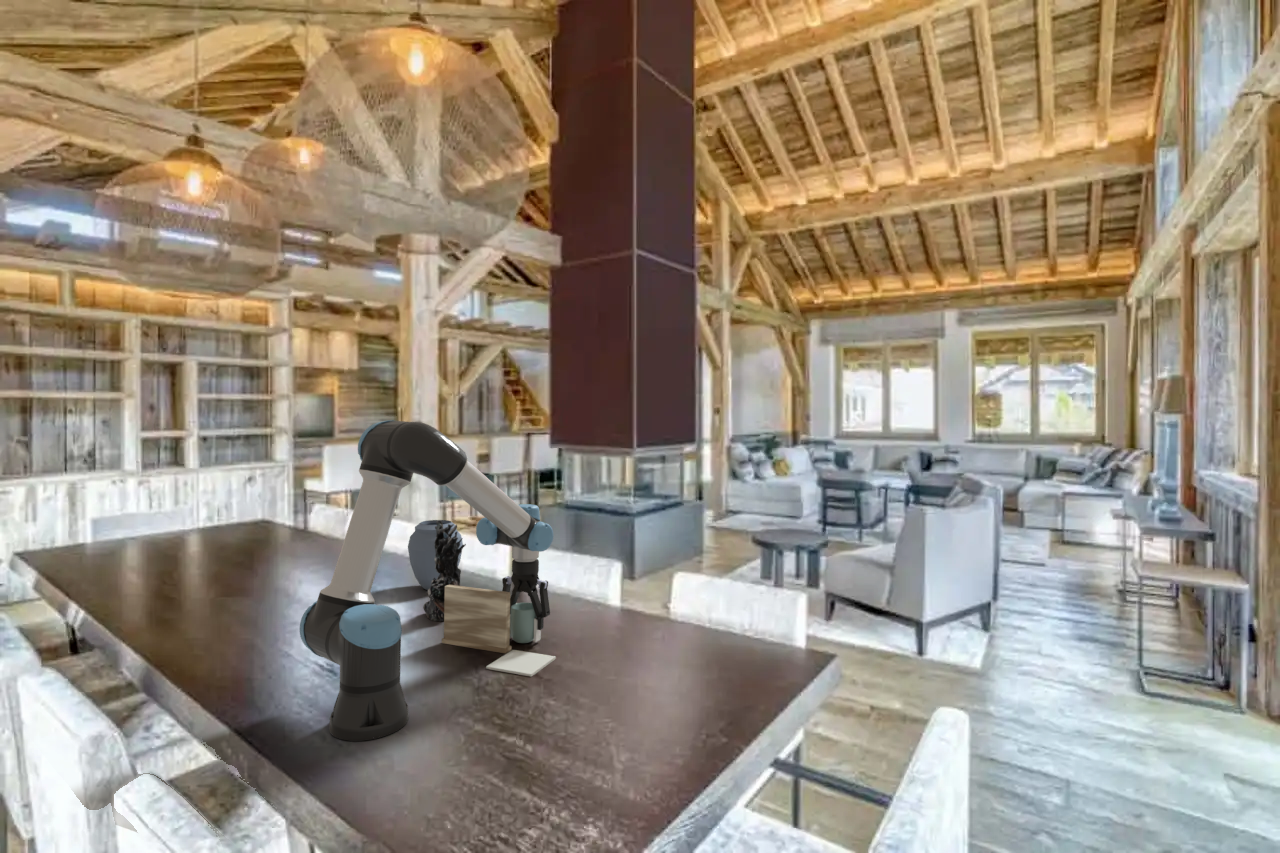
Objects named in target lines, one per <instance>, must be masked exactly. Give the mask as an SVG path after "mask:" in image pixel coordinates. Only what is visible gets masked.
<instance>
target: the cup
mask: <svg viewBox="0 0 1280 853" xmlns="http://www.w3.org/2000/svg"><path fill="white" fill-rule="evenodd" d="M535 618H537V617H536V614H535V611H534V608H533V605H532V602H516V604H514V605H512V606H511V610H510V628H511V636H512V637H511V638H512V640H513V641H514V642H515V643H519V644H528V643H531V642H534V619H535Z"/></svg>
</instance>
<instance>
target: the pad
mask: <svg viewBox="0 0 1280 853" xmlns="http://www.w3.org/2000/svg"><path fill="white" fill-rule="evenodd" d="M556 659H557V657H556V656H555V655H549V654H542V653H537V652H530V651H523V650H517V649H511V651H509V652H508V653H504V654H503V655H502V656H501V657H499V658H497V659H496V660H494V661H493V662H491V663H489V664H488V665H486V667H485V668H486V670H491V671H496V672H502V673H509V674H516V675H520V676H525V677H530V678H531V677H533V676H535V675H536V674H537V673H539V672H540V671H541V670H542V669H544V668H545V667H547V666H548V665H549V664H551V663H552V662H553V661H555V660H556Z"/></svg>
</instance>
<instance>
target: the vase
mask: <svg viewBox="0 0 1280 853" xmlns="http://www.w3.org/2000/svg"><path fill="white" fill-rule="evenodd" d="M438 520H439V519H432V520H431V519H429V520H423V521H421V522H419V523H418V524H417V525H415V526H414V531H413V533H412V534H411V535H410V536H409V541H408V543H407V544H408V545H407V549H408V550H407V551H408V557H409V558H408V559H409V563H410V567H411V569H412V572H413V574H414V578H415V580H417V582H418V584H419V585H420V586H421V588H422V589H424V590H426V591H428V590H429V589H430V588H431V582H432V579H433V578H435V579H437V577H438V576H439V575H440V573H437V571H436V569H435V554H436V551H435V547H434V543H435V539H436V535H437V534H436V529H435V526H437V523H436V521H438ZM440 520H441V521H442V524H443V529H444V528H446V527H448V524H450V525H452V524H454V525H453V526H452V527H451V529H450V531H451V530H452V529H453V528H454V526H456V524H455V523H454V522H452V521H451V520H447V519H440ZM457 528H458V527H457ZM457 528H456V530H455V531H454V533H453V534H452V536H451V537H454V536H455V532H457V531H458V529H457ZM450 531H449V533H450ZM457 538H458V539H457V541H456V543H457V542H459V541H460V540H461V539H462V538H463V537H462V534H461V533H460V531H458V532H457ZM459 544H460V546H459V548H460V547H461V546H462V545H464V542H463V539H462V540H461V542H460V543H459ZM459 548H458V549H459ZM462 553H463V552H462ZM462 553H460V554H459V556H458V558H459V559H458V563H457V565H458V567H459V565H460V563H461V559H462V558H461V557H462Z"/></svg>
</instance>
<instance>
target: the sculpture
mask: <svg viewBox="0 0 1280 853" xmlns="http://www.w3.org/2000/svg"><path fill="white" fill-rule="evenodd" d="M437 520H438V521H436V523H437V526H435V529H436V534H437V535H436V539H435V543H434V547H435V551H436V554H435V569H436V571H437V573H440V575H439V576H438V577H437V579H435V578H433V579H432V582H431V588H430V589H429V590H427V596H428V597H429V598H428V599H429V600H428V601H427V602H425V603H423V606H422V609H423V611H424V612H425V615H426V618H427V619H429V620H430V621H438V622H444V601H445V586H447V585H456V586H461V573H462V570H461V569H460V568H459V566H458V565H457V563H458V559H459V558H458V556H459V554H460V553H463V549H464V548H465V547H466V546H467V544H466V543H464V544H463V545H462V546H461V547H460V548H459V546H460V544H459V543H460V542H461V540H462V541H463V538H464V537H462V539H461V540H460V541H459V542H457V543H456V541H457V539H458V538H457V532H459V530H457V532H455V536H454V537H451V536H452V534H453V533H454V531H455V530H456V528H458V524H455V523H454V524H455V525H456V526H454V528H453V529H452V530H451V531H450V529H451V527H452V526H453V525H454V524H452V525H450V524H448V527H446V528H444V529H443V524H442V521H441V520H442V519H437ZM449 531H450V533H449ZM458 548H459V549H458Z"/></svg>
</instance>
